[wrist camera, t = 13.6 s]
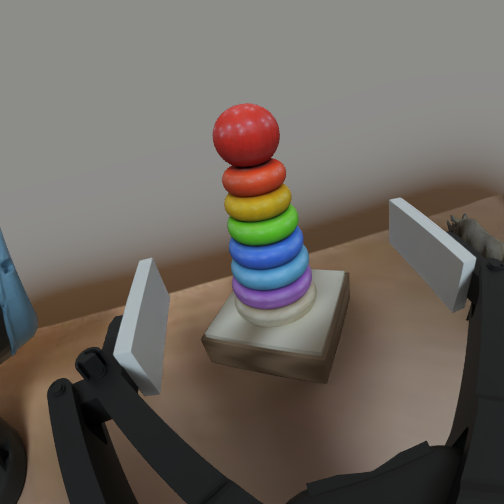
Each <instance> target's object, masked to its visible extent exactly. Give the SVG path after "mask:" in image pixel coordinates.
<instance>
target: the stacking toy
mask: <svg viewBox="0 0 504 504" xmlns="http://www.w3.org/2000/svg"><path fill="white" fill-rule="evenodd" d="M279 139H280V133H279V127H278V124H277V122H276V120H275V118H274V117H273V115H272V114H271V113H270V112H269V111H267V110H266V109H264V108H263V107H261V106H258V105H254V104H240V105H235V106H233V107H230V108H229V109H227V110H226V111H224V112H223V113H222V114H221V115H220V116H219V118H218V119H217V121H216V123H215V126H214V129H213V142H214V146H215V148H216V150H217V152H218V154H219V155H220V156H221V157H222V158H223V160H225V161H226V162H228V163H229V164H231V165H232V166H230V167H229V168H228V169H227V170H226V171H225V172H224V174H223V177H222V183H223V186H224V188H225V189H226V190H227V191H228V192H229V193H228V195H227V196H226V198H225V202H224V206H225V210H226V211H227V213H228V214H229V215H230V217H229V220H228V230H229V233H230V235H231V240H230V243H229V251H230V254H231V256H232V258H233V259H232V263H231V269H232V273H233V280H232V288H233V291H234V293H235V305H236V308H237V311H238V312H239V314H240V315H241V316H242V317H243V318H244V319H245V320H247V321H248V322H250V323H253V324H255V325H259V326H265V327H277V326H283V325H287V324H290V323H293V322H295V321H297V320H299V319H300V318H302V317H303V316H305V315H306V314H307V313H308V312H309V311H310V310H311V309H312V307H313V305H314V303H315V301H316V297H317V289H316V285H315V283H314V281H313V279H312V271H311V268H310V266H309V264H308V263H309V255H308V251H307V249H306V247H305V246H304V245H303V235H302V232H301V230H300V228H299V227H298V226H297V224H298V213H297V211H296V209H295V208H294V207H293V206H292V205H291V204H290V202H291V192H290V190H289V188H288V187H287V186H286V185H285V184H283V182H284V180H285V178H286V169H285V167H284V165H283V164H282V163H281V162H280V161H278V160H276V159H272V158H271V157H272V156H273V154H274V153H275V151H276V149H277V147H278V144H279Z"/></svg>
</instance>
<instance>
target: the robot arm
mask: <svg viewBox="0 0 504 504" xmlns="http://www.w3.org/2000/svg"><path fill="white" fill-rule="evenodd" d="M389 243H390V244H391V245H392V246H393V247H394V248H395V249H396V250H397V251H398V252H399V254H400V255H401V256H402V257H403V258H404V259H405V260H406V261H407V262H408V263H409V264H410V265H411V266H412V268H413V269H414V270H415V271H416V272H417V273H418V274H419V275H420V276H421V277H422V279H423V280H424V281H425V282H426V283H427V284H428V285H429V286H430V288H431V289H432V290H433V291H434V292H435V293H436V294H437V296H438V297H439V298H440V299H441V300H442V301H443V303H444V304H445V305H446V306H447V307H448V309H449V310H450V311H451V312H452V313H454V312H456V311H458V310H460V309H463V308H464V307H465V303H466V299H467V298H468V299H469V300H470V301H471V302H472V303H471V306H470V310H469V313H468V316H467V319H466V320H467V321H468V320H469V328H468V338H467V347H466V356H465V363H464V370H463V376H462V382H461V388H460V393H459V398H458V403H457V408H456V413H455V417H454V421H453V426H452V429H451V433H450V435H449V437H448V440H447V442H446V444H445V446H444V445H437V446H429V444H428V442H427V441H425V442H423V443H421V444H418V445H416V446H414V447H412V448H409V449H407V450H405V451H403V452H400V453H399V454H397V455H396V456H394V457H393V458H392V459H390V460H389V461H387V462H386V463H384V464H383V465H381V466H380V467H378V468H377V469H375V470H374V471H371V472H364V473H355V474H344V475H336V476H333V477H329V478H326V479H322V480H318V481H315V482H311V483H307V484H306V485H307V489H308V490H307V489H306V490H304V491H302V492H300V493H299V494H297V495H296V496H294V497H293V498H292V499H290V500H289V501H288V502H287V503H286V504H504V263H503V262H502V261H500V260H498V259H495V258H486V259H485V258H484V257H483V256H482V255H481V254H480V253H478V252H477V251H476V250H475V249H474V248H473V247H471V246H469V244H468V243H467V242H465V241H464V240H463V239H462V238H460V237H459V236H458V235H456V234H454V233H452V232H449V231H448V232H445V231H444V230H442V229H441V228H440V227H439V226H437V225H436V224H435V223H434V222H432V221H431V220H430V219H429V218H427V217H426V216H425V215H423V214H422V213H421V212H419V211H418V210H417V209H415V208H414V207H413V206H411V205H410V204H409V203H407V202H406V201H405V200H403V199H402V198H396V199H391V200H389ZM169 302H170V297H169V294H168V292H167V290H166V288H165V285H164V283H163V281H162V279H161V276H160V274H159V272H158V269H157V267H156V265H155V262H154V260H153V258H149V259H145V260H141V261H139V264H138V267H137V270H136V274H135V277H134V280H133V284H132V287H131V290H130V293H129V297H128V300H127V304H126V307H125V311H124V314H123V315H121V316H116V317H115V318H114V319H113V320H112V322H111V323H110V324H109V327H108V331H107V335H106V337H105V341H104V344H103V348H102V350H101V349H100V348H98V347H91V348H88V349H86V350H84V351H83V352H82V353H81V354H80V355H79V356H78V357H77V359H76V362H75V367H76V370H77V371H78V372H79V373H80V374H81V376H82V377H83V378H84V379H83V380H81V381H79V382H76V383H74V384H72V383H71V382H70V381H69V380H68V379H66V378H61V379H58V380H56V381H55V382H53V383H52V384H51V386H50V387H49V389H48V392H47V399H48V406H49V413H50V420H51V426H52V432H53V437H54V442H55V447H56V452H57V457H58V461H59V465H60V469H61V473H62V477H63V481H64V485H65V488H66V492H67V495H68V499H69V502H70V504H138V502H137V500H136V498H135V496H134V494H133V492H132V490H131V488H130V485H129V483H128V481H127V479H126V476H125V474H124V472H123V469H122V467H121V464H120V462H119V460H118V457H117V454H116V452H115V449H114V447H113V444H112V441H111V439H110V436H109V433H108V430H107V427H106V425H105V422H106V421H108V420H111V419H113V420H114V422H115V423H116V424H117V425H118V427H119V428H120V429H121V431H122V432H123V433H124V435H125V436H126V437H127V438H128V440H129V441H130V442H131V443H132V444H133V446H134V447H135V448H136V449H137V451H138V452H139V453H140V454H141V455H142V456H143V458H144V459H145V460H146V461H147V462H148V463H149V464H150V466H151V467H152V468H153V469H154V470H155V471H156V472H157V473H158V474H159V475H160V477H161V478H162V479H163V480H164V481H165V482H166V483H167V484H168V485H169V486H170V487H171V488H172V489H173V490H174V491H175V492H176V493H177V494H178V495H179V496H180V497H181V498H182V499H183V500H184V501H185V502H186V503H187V504H263V503H261V502H260V501H259V500H257V499H256V498H254V497H253V496H252V495H250V494H249V493H248V492H246V491H245V490H244V489H242V488H241V487H240V486H238V485H237V484H236V483H234V482H233V481H231V480H230V479H228V478H227V477H225V476H224V475H223V474H222V473H220V472H219V471H218V470H217V469H216V468H214V467H213V466H212V465H211V464H210V463H208V462H207V461H206V460H205V459H204V458H203V457H201V456H200V455H199V454H198V453H197V452H196V451H195V450H194V449H192V448H191V447H190V446H189V445H188V444H187V443H186V442H185V441H184V440H183V439H182V438H181V437H179V436H178V435H177V434H176V433H175V432H174V431H173V430H172V429H171V428H170V427H169V426H168V425H167V424H166V423H165V422H164V421H163V420H162V419H161V418H160V417H159V416H158V415H157V414H156V413H155V412H154V411H153V410H152V409H151V408H150V407H149V406H148V404H147V403H146V402H145V401H144V400H143V399H142V398H141V397H140V396H139V395H138V389H139V390H140V391H141V393H142V394H143V395H144V396H149V395H157V394H160V393H161V380H162V368H163V357H164V347H165V337H166V327H167V319H168V310H169ZM37 327H38V319H37V315H36V313H35V311H34V309H33V307H32V304H31V302H30V300H29V298H28V296H27V294H26V292H25V290H24V287H23V285H22V283H21V280H20V278H19V276H18V273H17V271H16V269H15V266H14V264H13V261H12V259H11V257H10V254H9V251H8V248H7V246H6V243H5V240H4V238H3V235H2V232H1V229H0V364H1V363H3V362H4V361H5V360H7V359H8V358H10V357H11V356H14V355H15V354H16V351H17V350H18V349H19V348H20V347H21V346H23V345H24V344H25V343H26V342H27V341H28V340H30V339H31V338H32V337H33V336H34V334H35V333H36V330H37ZM25 473H26V455H25V449H24V445H23V442H22V440H21V438H20V436H19V434H18V433H17V431H16V430H15V429H14V428H13V427H11V426H10V425H9V424H8V423H7V422H6V421H5V420H4V419H2V418H1V417H0V504H16V502H17V500H18V498H19V496H20V494H21V491H22V488H23V484H24V480H25Z"/></svg>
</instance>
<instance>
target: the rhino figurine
mask: <svg viewBox="0 0 504 504" xmlns="http://www.w3.org/2000/svg"><path fill="white" fill-rule="evenodd" d="M451 221H452V222H454V223H455V224H454V223H452V226H451V225H450V223H449V221H448V220H447V225H448V229H449V232H452V233H454V234H456V235H458V236H459V237H460V238H462V239H463V240H464V241H465V242H467V243H468V244H469V246H471V247H473V248H474V249H475V250H476V251H477V252H478V253H480V254H481V255H482V256H483V257H484V258H485V259H486V258H495V259H498V260H500V261H502V262H503V263H504V244H503V243H502V242H501V241H499V240H498V239H496V238H495V237H494V236H492V235H490V234H489V233H488V232H487V231H486V230H485V229H484V228H483V227H482V226H481V225H480V224H479V223H478V222H477V221H476V220H474V219H471V218H468V219H467V214H464V215H463V217H462V219H456V218H455V217H453V216H452V215H451Z"/></svg>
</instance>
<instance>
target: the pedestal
mask: <svg viewBox="0 0 504 504" xmlns="http://www.w3.org/2000/svg"><path fill="white" fill-rule="evenodd" d="M311 271H312V279H313V281H314V283H315V285H316V289H317V297H316V301H315V303H314V305H313V307H312V309H311V310H310V311H309V312H308V313H307V314H306V315H305V316H303V317H302V318H300V319H299V320H297V321H295V322H293V323H290V324H287V325H283V326H277V327H265V326H259V325H255V324H253V323H250V322H248V321H247V320H245V319H244V318H243V317H242V316H241V315H240V314H239V312H238V311H237V308H236V305H235V293H234V291H233V292H232V293H231V295H230V296H229V298H228V299H227V301H226V302H225V304H224V305H223V307H222V308H221V310H220V311H219V313H218V314H217V316H216V317H215V319H214V320H213V322H212V323H211V325H210V326H209V328H208V329H207V331H206V332H205V334H204V335H203V337H202V338H201V341H202V343H203V345H204V347H205V349H206V351H207V353H208V356H209V358H210V360H211V362H215V363H219V364H224V365H228V366H232V367H237V368H242V369H246V370H251V371H256V372H261V373H266V374H271V375H277V376H282V377H288V378H294V379H300V380H306V381H312V382H319V383H327V380H328V377H329V373H330V370H331V367H332V363H333V360H334V356H335V353H336V349H337V345H338V342H339V338H340V334H341V330H342V327H343V323H344V319H345V315H346V311H347V306H348V302H349V298H350V290H349V273H345V271H333V270H315V269H311Z"/></svg>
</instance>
